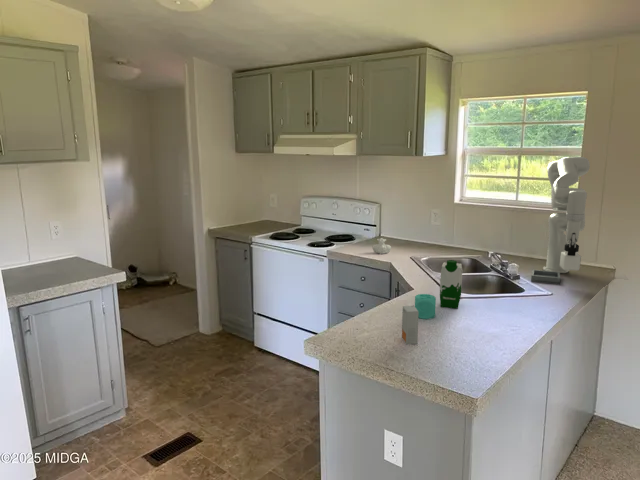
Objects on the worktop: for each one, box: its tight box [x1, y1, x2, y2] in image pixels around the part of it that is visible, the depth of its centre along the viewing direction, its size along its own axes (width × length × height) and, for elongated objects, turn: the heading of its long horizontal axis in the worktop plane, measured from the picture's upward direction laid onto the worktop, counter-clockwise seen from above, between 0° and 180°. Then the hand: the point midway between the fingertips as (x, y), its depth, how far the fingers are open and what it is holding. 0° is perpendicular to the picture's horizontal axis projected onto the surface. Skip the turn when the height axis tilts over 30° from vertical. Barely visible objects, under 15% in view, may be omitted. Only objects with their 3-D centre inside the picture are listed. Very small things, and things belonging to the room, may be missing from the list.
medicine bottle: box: [560, 243, 582, 271], centre depth 231 cm, size 7×7×12 cm
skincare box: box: [401, 305, 419, 345], centre depth 168 cm, size 6×4×12 cm
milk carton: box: [439, 259, 463, 310], centre depth 205 cm, size 9×9×20 cm
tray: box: [530, 269, 561, 285], centre depth 247 cm, size 13×13×3 cm
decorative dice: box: [414, 293, 437, 320], centre depth 194 cm, size 8×8×8 cm
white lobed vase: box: [372, 237, 392, 255], centre depth 307 cm, size 12×8×11 cm
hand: (571, 253), depth 231 cm, fingers closed on medicine bottle, 7 cm apart
